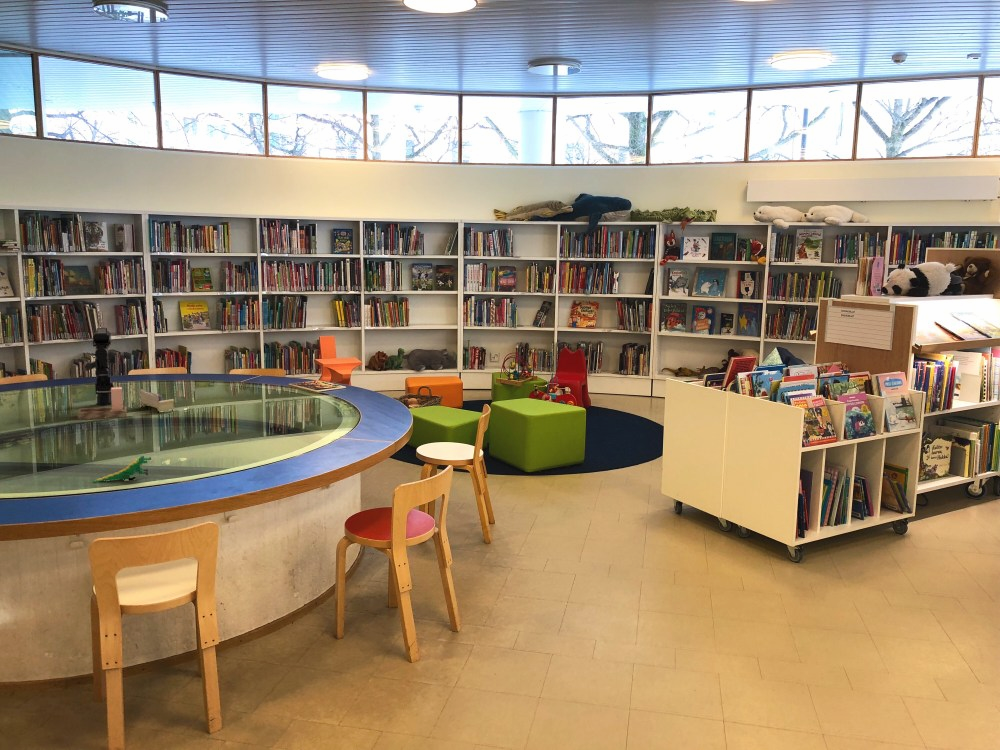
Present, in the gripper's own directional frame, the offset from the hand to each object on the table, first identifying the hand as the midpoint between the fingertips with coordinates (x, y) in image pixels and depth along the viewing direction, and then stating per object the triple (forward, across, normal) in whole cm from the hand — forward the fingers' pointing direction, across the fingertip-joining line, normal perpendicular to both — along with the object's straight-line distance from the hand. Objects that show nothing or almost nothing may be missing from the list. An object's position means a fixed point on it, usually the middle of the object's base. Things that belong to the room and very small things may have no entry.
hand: (103, 385), depth 420 cm
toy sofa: (+13, +5, +26) cm, 29 cm away
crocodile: (+14, +137, +10) cm, 138 cm away
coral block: (+11, +16, +7) cm, 21 cm away
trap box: (+13, +16, 0) cm, 21 cm away
